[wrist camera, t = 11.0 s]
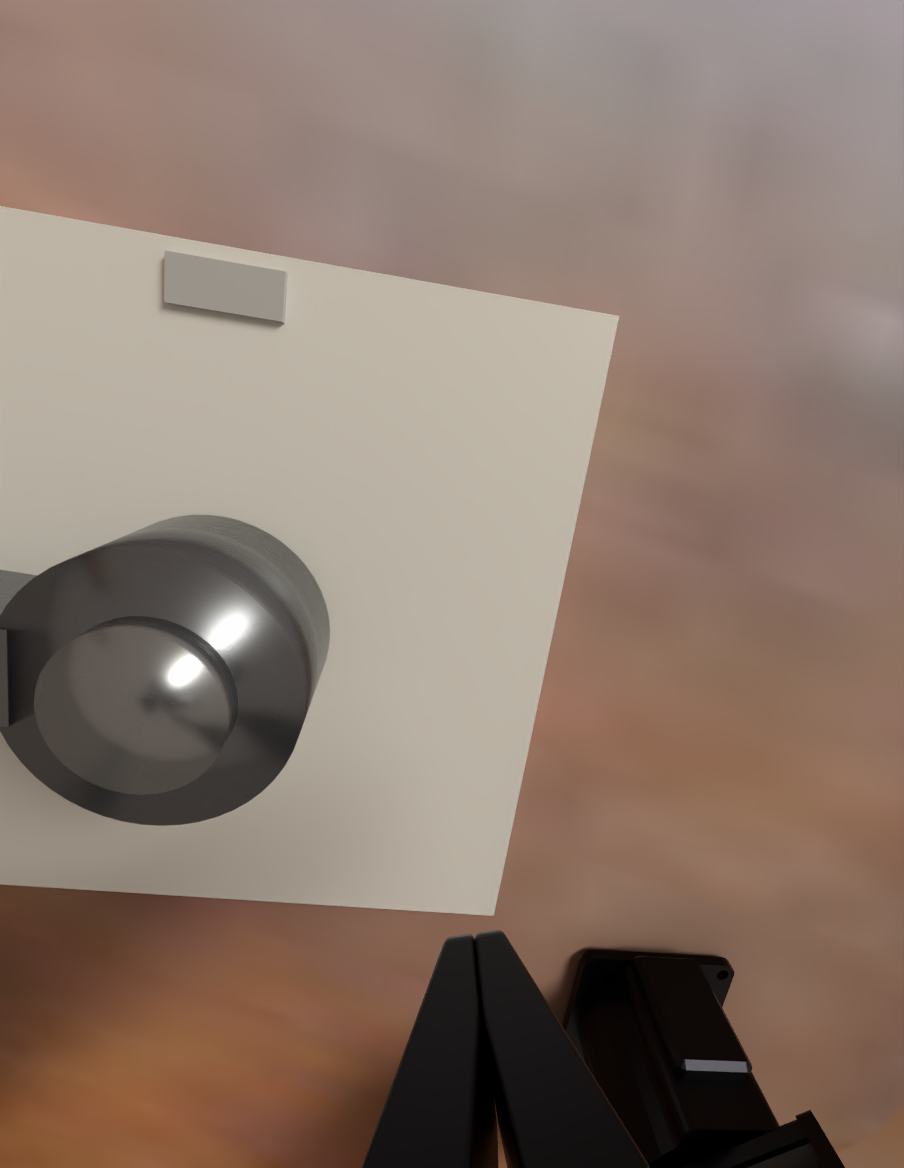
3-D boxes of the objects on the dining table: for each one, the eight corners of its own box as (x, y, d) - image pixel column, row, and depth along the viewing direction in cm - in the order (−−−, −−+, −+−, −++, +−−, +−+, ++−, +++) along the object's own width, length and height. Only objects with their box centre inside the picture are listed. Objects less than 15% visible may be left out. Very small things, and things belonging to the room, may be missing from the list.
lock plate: (489, 894, 22) (494, 922, 21) (-87, 855, 20) (-120, 884, 19) (607, 321, 17) (623, 314, 15) (-180, 183, 15) (-235, 161, 13)
